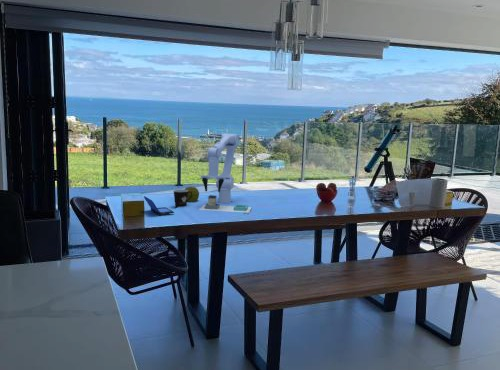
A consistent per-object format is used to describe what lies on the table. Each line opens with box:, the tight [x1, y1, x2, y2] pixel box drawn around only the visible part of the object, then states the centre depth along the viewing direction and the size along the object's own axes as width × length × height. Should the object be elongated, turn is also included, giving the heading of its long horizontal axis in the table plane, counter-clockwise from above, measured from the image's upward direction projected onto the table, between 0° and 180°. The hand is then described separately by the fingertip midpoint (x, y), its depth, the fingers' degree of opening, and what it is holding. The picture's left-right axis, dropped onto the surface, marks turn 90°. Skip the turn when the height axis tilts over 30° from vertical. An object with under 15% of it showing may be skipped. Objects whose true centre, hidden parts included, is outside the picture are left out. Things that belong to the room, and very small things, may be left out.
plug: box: [207, 194, 217, 206], centre depth 272 cm, size 4×4×7 cm
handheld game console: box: [143, 195, 175, 217], centre depth 261 cm, size 16×13×9 cm
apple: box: [184, 186, 200, 203], centre depth 290 cm, size 10×10×11 cm
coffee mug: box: [173, 188, 192, 209], centre depth 276 cm, size 12×9×10 cm
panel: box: [198, 202, 253, 215], centre depth 272 cm, size 14×29×3 cm, turn 83°
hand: (212, 191), depth 271 cm, fingers open, 7 cm apart
